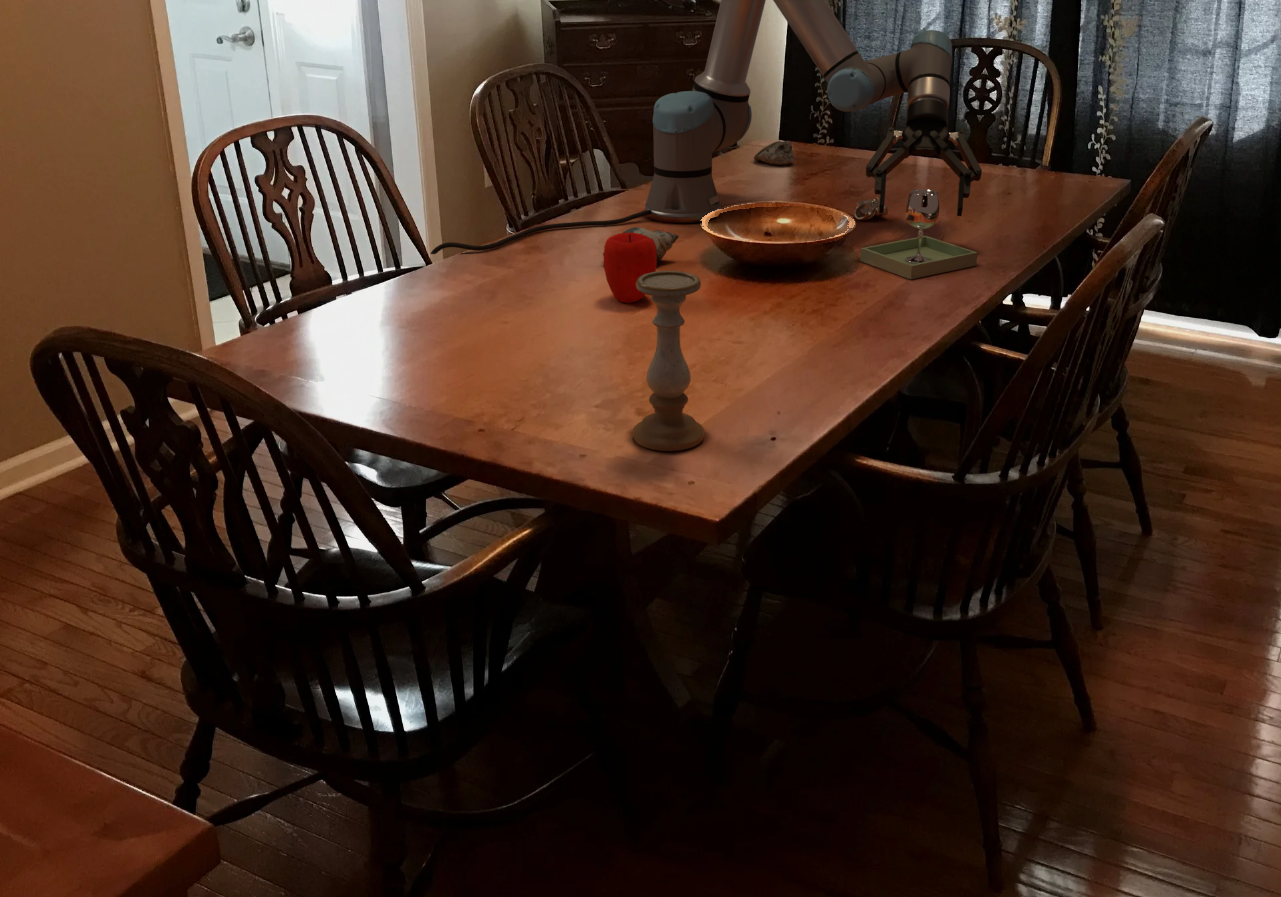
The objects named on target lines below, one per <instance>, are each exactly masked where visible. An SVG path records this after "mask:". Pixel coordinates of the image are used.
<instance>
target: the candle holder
mask: <svg viewBox="0 0 1281 897" xmlns="http://www.w3.org/2000/svg"><path fill="white" fill-rule="evenodd" d="M636 287H637V289H638V290H639V291H640V292H642V293H644V294H645V295H648V296H650V300H651V302H653V304H654V305H655V307H656V314H655V316H654V318H653V319H652V324H653V326H654V327H656V347H655V351H654V354H653V356H652V359H651V361H650V363H649V365H648V367H647V371H646V375H645V380H646V384H647V386H648V388H649V389H650V390H651V392H652V393H651V395H649V398H648V402H649V403H650V405H651V406H652V408H653V410H654V412H653V413H650V414H648V415H646V416H645V417H643V418H642V420H641V421H639V422H637V423H636V425H635V426H634V427H633V430H632V435H633V436H632V437H633V439H634V441H635V442H636V443H637V445H639V446H642V447H643V448H646V449H648V450H654V451H659V452H660V451H661V452H677V451H684V450H689V449H691V448H694V447H696V446H698V445H700V444H701V443H702V442H703V440H704V438H705V428H704V427H703V425H702V424H701V423H700V422H698V421H696V420H695V418H694V417H693V416H691V415H689V414H687V413H684V408H685V406H686V405H687V404H688V403H689V397H688V395H687V394H686V393H685V392H686V390H687V389H688V388H689V386H690V384H691V381H692V373H691V370H690V367H689V364H688V363H687V360H686V359H685V356H684V353H683V351H682V347H681V345H682V344H681V327H682V326H683V325H684V324H685V322H686V321H685V319H684V317H683V316H682V314H681V307H682V304H683V303H684V302H686V300H687V296H689V295H692V294H694V293H696V292H698V291H699V290H700V289H701V287H702V283H701V279H700V277H698V276H697V275H695V274H693V273H690V272H686V271H682V270H681V271H680V270H657V271H656V272H651V273H647V274H644V275H642V276H640V277H639V278H638V279H637V282H636Z"/></svg>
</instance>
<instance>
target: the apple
mask: <svg viewBox="0 0 1281 897" xmlns="http://www.w3.org/2000/svg"><path fill="white" fill-rule="evenodd" d="M603 253H604V256H603V269H604V274H605V279H606V282H607V284H608V287H609V289H610V291H611V293H612V295H613V297H614V299H616V300H617V301H619V302H621V303H624V304H632V303H636V302H638V301H640V300H641V299H643V298H644V297H645V296H646V294H644V293H642V292H640V291H639V290H638V289H637V287H636V282H637V279H638V278H639V277H640V276H642V275H644V274H647V273H651V272H657V271H656V270H657V266H658V265H657V263H658V262H657V251H656V245H655V242H654V240H653V239H651V238H649V237H647V236H645V235H642V234H638V233H623V232H621V233H617V234H614V235H611V236H610V237H608V238H607V239H606V241H605V244H604V247H603Z"/></svg>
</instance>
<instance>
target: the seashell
mask: <svg viewBox="0 0 1281 897" xmlns="http://www.w3.org/2000/svg"><path fill="white" fill-rule="evenodd" d="M622 233H638V234H642V235H645V236H647V237H649V238H651V239H653V240H654V242H655V245H656V251H657V263H659V262H661V261H662V260H663V258H664V257H665V255H666V254H667V251H669V250H671V249H672V247H673V244H675V243H676V241H677V240H678V239H679V235H678V234H676V233H672V232H668V231H667V232H665V231H662V230H653V231H652V230H650V229H647V228H644V227H637V226H636V227H635V226H634V227H630V228H628V229H626V230H624V231H623V232H622ZM602 256H603V257H604V252H602Z"/></svg>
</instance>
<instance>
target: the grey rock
mask: <svg viewBox="0 0 1281 897" xmlns="http://www.w3.org/2000/svg"><path fill="white" fill-rule="evenodd" d="M792 148H793V145H792V141H790V140H785V141H781V140H779V141H773V142H772V143H769V144H767V145H766V146H765V147H763V148H761V149H760V150H759V151H758V152H757V153H756V154H755V155H754V156H753V161H755V162H759V161H761V162H764V163H766V164H768V165H769V164H770V165H773V166H782V165H788V164H790V163H792V162H793V161H794V159H795V154H794V150H793V149H792Z"/></svg>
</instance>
